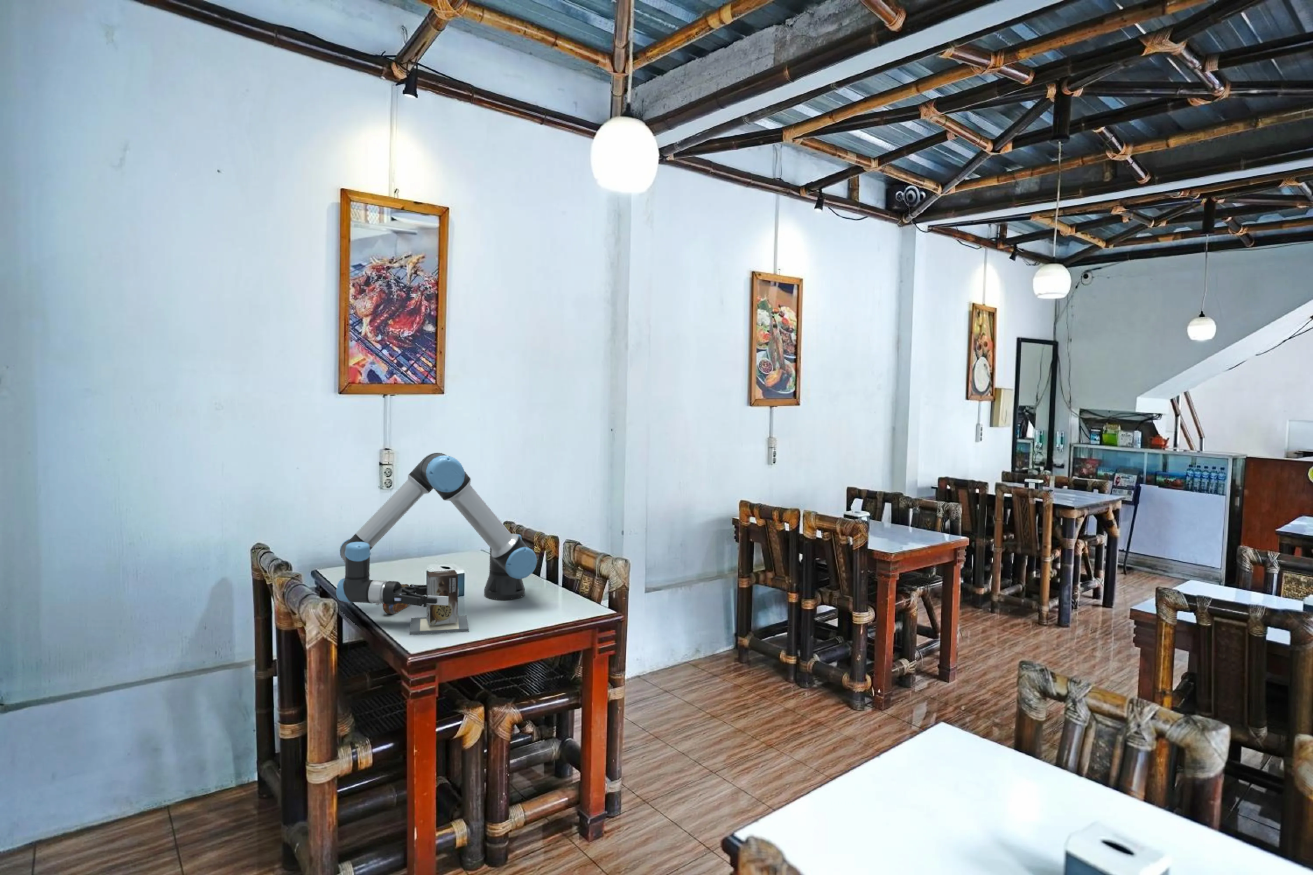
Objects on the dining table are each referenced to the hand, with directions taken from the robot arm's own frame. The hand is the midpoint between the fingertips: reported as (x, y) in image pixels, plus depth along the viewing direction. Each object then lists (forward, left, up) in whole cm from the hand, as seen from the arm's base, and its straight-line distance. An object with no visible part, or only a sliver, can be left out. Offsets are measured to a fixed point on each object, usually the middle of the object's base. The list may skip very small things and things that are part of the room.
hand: (453, 596), depth 242 cm
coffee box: (+3, -1, -9) cm, 9 cm away
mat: (+4, -3, -10) cm, 11 cm away
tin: (+18, -22, -11) cm, 31 cm away
